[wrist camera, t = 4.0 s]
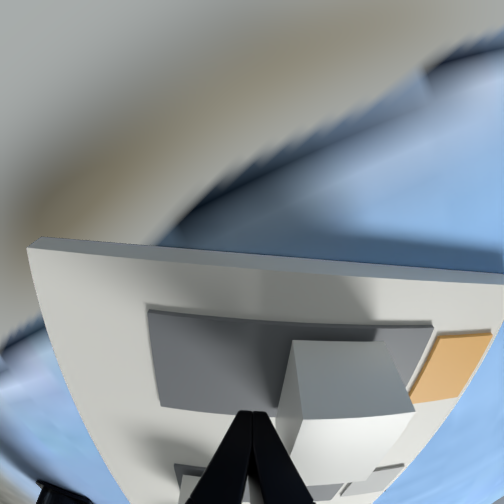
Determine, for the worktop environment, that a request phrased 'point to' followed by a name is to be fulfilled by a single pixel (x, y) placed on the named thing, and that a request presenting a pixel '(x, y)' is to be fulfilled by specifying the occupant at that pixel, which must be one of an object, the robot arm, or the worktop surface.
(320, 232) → the worktop surface
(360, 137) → the worktop surface
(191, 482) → the middle slider
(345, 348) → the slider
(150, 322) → the switch unit
